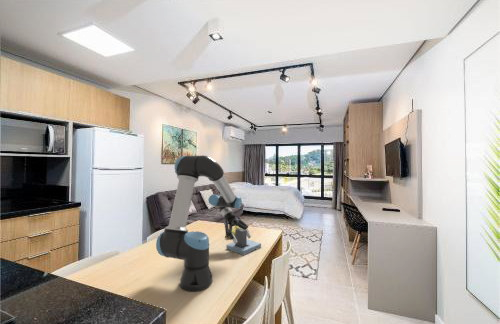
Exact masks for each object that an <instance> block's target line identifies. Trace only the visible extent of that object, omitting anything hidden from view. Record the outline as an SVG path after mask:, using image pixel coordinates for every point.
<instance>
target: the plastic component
mask: <svg viewBox="0 0 500 324" xmlns="http://www.w3.org/2000/svg"><path fill="white" fill-rule="evenodd" d="M238 228H240V227H238V226H233V227H232V233H233V234H234V236H235V230H236V229H238ZM241 229H242V228H241ZM232 233H231V234H232ZM225 237H229V236H228V235H226V234H225Z"/></svg>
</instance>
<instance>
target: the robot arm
mask: <svg viewBox="0 0 500 324" xmlns="http://www.w3.org/2000/svg"><path fill="white" fill-rule="evenodd" d="M174 172H175V174H176V178H177V180H178V182H177V188H176V192H175V197H174V201H173V206H172V208H171V214H170V219H169V223H168V225H167V226H166V227H164V229H163V230H164V231H162V232H160V234H159V236H157V238H156V243H155V246H156V247H155V248H156V251H157V253H158V254H159V255H160V256H163V257H165V258H171V259H176V260H182V261H183V265H184V267H183V271H182V274H181V276H180V279H179V282H180V283H179V286H180V288H181V289H182V290H183V291H187V292H199V291H202V290H203V291H204V290H205V289H208V288H209V287H210V286H211V285H212V283H213V275H212V271H211V267H210V264H209V263H210V262H209V261H210V239H209V236H208V235H207V233H206V232H202V231H189V230H188V229H187V223H188V217H189V213H190V208H191V202H192V197H193V193H194V188H195V184H196V183H197V182H198V181H199V178H200V177H204V178H207V179H208V180H209V181H210V182H212V184H213V185H214V186H215V188H217V190H218V192H219V193H220V195H218V194H211V195H210V196H208V204H209V205H211V206H212V207H216V208H218V209H219V211H220V213H221V215H222V217H223V218H224V220H225V221H224V222H223V225H224V231H225V235H228V236H227V237H230V239H231V240H232V243H233V242H234V243H235V244H236V243H237V242H238V241H237V239H236V238H235V236H234V234H233V233H232V229H233V228H234V227H235V226H238V227H240V228H242V229H244V230H247V239H248V240H251V238H252V235H251V234H250V231H249V230H248V229H249V225H248V224H246V223H245V222H244V221H243V220H242V219H241V218H240V217H239V216H238V217H236V214H235V212H234V211H233V210H232V209H240V208H241V206H242V203H243V202H242V197H240V196H236V194H235V192H234V190H233V189H232V187H231V185H230V184H229V181H228V180H227V178H226V177H225V171H224V169H223V168H222V166H221V165H220V164H219V163H218V161H216V160H215V159H214V158H212V157H210V156H208V155H203V154H202V155H188V154H187V155H182V156H180V157H178V158H177V159H176V161H175V163H174ZM231 233H232V234H231Z"/></svg>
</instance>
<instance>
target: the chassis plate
mask: <svg viewBox="0 0 500 324" xmlns="http://www.w3.org/2000/svg"><path fill="white" fill-rule="evenodd" d="M259 247H260V248H262V243H261V242H258V241H254V240H251V239H248V238H247V246H246V247H244V248H240V247H238V246H235V243H234V242H233V241H232V242H231V243H228V244H226V246H225V248H226V249H227V250H229V251H232V252H235V253H236V254H240V255H242V256H244V255H248V254H249V253H252V252H253V250H254V251H256V250H258V249H260V248H259ZM257 248H258V249H257ZM255 249H256V250H255Z"/></svg>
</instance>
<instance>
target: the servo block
mask: <svg viewBox="0 0 500 324" xmlns="http://www.w3.org/2000/svg"><path fill="white" fill-rule="evenodd" d="M235 238H236V239H237V241H238V242H237V243H236V244H235V246H238V247H240V248H244V247H246V246H247V239H248V237H247V230H244V229H241V228H238V229H236V230H235Z"/></svg>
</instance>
